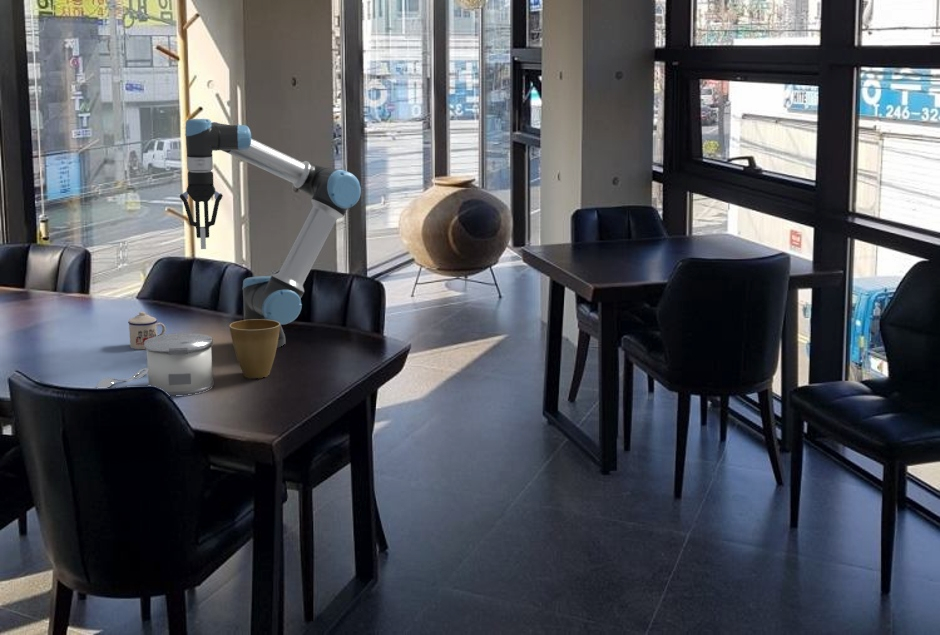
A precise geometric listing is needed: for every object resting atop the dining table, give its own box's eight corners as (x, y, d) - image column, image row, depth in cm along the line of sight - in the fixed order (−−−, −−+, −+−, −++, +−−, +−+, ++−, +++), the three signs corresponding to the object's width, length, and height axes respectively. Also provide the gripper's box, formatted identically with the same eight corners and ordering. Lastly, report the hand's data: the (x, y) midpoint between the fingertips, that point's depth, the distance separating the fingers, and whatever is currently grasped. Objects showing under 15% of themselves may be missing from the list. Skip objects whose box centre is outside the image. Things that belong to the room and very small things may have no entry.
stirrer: (140, 360, 333) (153, 362, 331) (141, 371, 334) (154, 373, 332) (93, 381, 315) (105, 383, 313) (94, 393, 316) (106, 395, 314)
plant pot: (291, 375, 332) (290, 324, 329) (251, 385, 322) (249, 332, 318) (261, 365, 342) (259, 316, 338) (221, 375, 331) (219, 323, 328)
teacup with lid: (135, 351, 357) (133, 316, 354) (125, 345, 364) (123, 311, 361) (170, 346, 364) (169, 312, 361) (160, 340, 371) (159, 306, 368)
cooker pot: (213, 376, 330) (211, 337, 327) (214, 394, 312) (212, 353, 310) (148, 379, 326) (146, 340, 323) (146, 398, 308) (144, 357, 305)
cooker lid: (212, 337, 328) (212, 331, 327) (213, 353, 307) (213, 347, 307) (146, 340, 323) (145, 334, 323) (142, 356, 303) (142, 351, 303)
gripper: (177, 172, 326) (181, 250, 331) (222, 172, 329) (225, 249, 334) (178, 170, 333) (181, 246, 338) (222, 169, 336) (224, 245, 341)
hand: (203, 248), depth 336 cm, fingers closed
